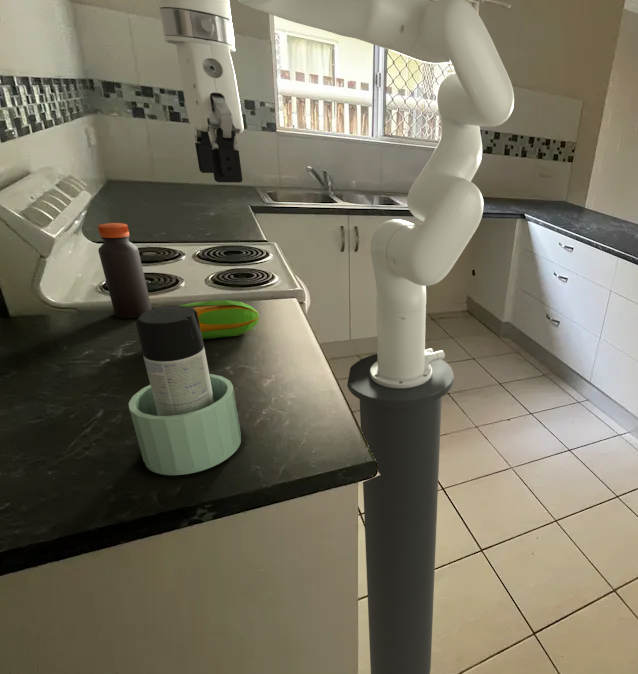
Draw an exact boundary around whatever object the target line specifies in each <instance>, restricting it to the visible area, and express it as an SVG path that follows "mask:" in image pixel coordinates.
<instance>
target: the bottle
mask: <svg viewBox="0 0 638 674" xmlns="http://www.w3.org/2000/svg"><path fill="white" fill-rule="evenodd" d="M97 229H98V232H99V235H100V238H101V240H103V243H102V244H101V245H100V247H98V250H97V251H98V255H99V258H100V263H101V267H102V271H103V274H104V277H105V282H106V286H107V289H108V293H109V298H110V300H111V305H112V308H113V312H114V316H115V317H117V318H120V319H138V318H139V317H140V315H141V314H142V313H145V312H147V311H148V310H150V309H153V308H152V304H151V300H150V295H149V291H148V286H147V282H146V277H145V272H144V267H143V264H142V259H141V255H140V251H139V247H138V246H137V245H135V244H134V243H133V242H131V241H130V240H129V238H131V237H130V231H129V226H128V224H127V223H123V222H107V223H101V224H97Z"/></svg>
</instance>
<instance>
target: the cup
mask: <svg viewBox="0 0 638 674" xmlns="http://www.w3.org/2000/svg"><path fill="white" fill-rule="evenodd" d="M209 376H210V381H211V387H212V392H213V398H214V403H213V404H212V405H210V406H208V407H205V408H203V409H200V410H198V411H194V412H190V413H186V414H181V415H172V416H158V414H157V410H156V405H155V402H154V397H153V393H152V389H151V385H150V384H149V385H147V386H144V387H142V388H141V389H140V390H138V391H136V393H134V394H133V395H132V396H131V398H130V400H129V402H128V404H127V405H128V409H129V413H130V418H131V420H132V424H133V427H134V432H135V435H136V439H137V442H138V443H137V444H138V447H139V451H140V453H141V457H142V462H143V463H144V466H145V467H146V468H147V469H148V470H149V471H150V472H152V473H154V474H155V473H156V474H158V475H162V476H183V475H185V476H186V475H190V474H195V473H200V472H203V471H206V470H208V469H211V468H214V467H215V466H217V465H220V464H221V463H223V462H224V461H226V460H228V459H229V458H231V457H232V456H233V455H234V454H235V453H236V452H237V451H238V449H239V448H240V446H241V442H242V432H241V426H240V425H241V424H240V419H239V414H238V407H237V402H236V395H235V389H234V385H233V384H232V382H231V380H229V379H228V378H226V377H224V376H222V375H218V374H214V373H209Z"/></svg>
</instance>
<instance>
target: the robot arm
mask: <svg viewBox="0 0 638 674" xmlns="http://www.w3.org/2000/svg"><path fill="white" fill-rule="evenodd" d="M236 1H237V2H239V4H242V5H244V6H246V7H249V8H251V9H254V10H257V11H260V12H263V13H265V14H268V15H271V16H274V17H277V18H279V19H282V20H286V21H288V22H292V23H296V24H299V25H303V26H306V27H310V28H313V29H318V30H322V31H325V32H328V33H332V34H334V35H338V36H342V37H347V38H352V39H356V40H359V41H363V42H365V43H368V44H370V45H371V44H372V45H374V46H377V47H380V48H382V49H386V50H388V51H391V52H394V53H397V54H399V55H402V56H404V57H408V58H411V59H413V60H417V61H419V62H423V63H427V64H431V65H436V64H437V65H439V64H440V65H441V64H451V66H452V69H453V70H454V72H452V73H450V74H447V75H446V76H445V77H443V79H442V80H441V81H440V82H439V85H437V89H436V96H435V97H436V98H435V99H436V107H437V111H438V115H439V116H438V117H439V120H440V137H439V140H438V143H437V145H436V147H435V149H434V150H433V153H432V154H431V156H430V158H429V159H428V160H427V162H426V163H425V165H424V167H423V168H422V170H421V171H420V173H419V174H418V176H417V177H416V179H415V180H414V182H413V183H412V185H411V187H410V188H409V191H408V194H407V196H406V203H407V207H408V211H409V212H410V213H411V215H412V216H414V217H415V218H416V219H418V220H419V221H422V224H421V225H418V224H416V223H412V222H409V221H407V220H404V219H389V220H386V221H384V222H382V223H381V224H379V225H378V226H377V227H376V229H375V230H374V232H373V234H372V237H371V241H370V258H371V263H372V268H373V274H374V281H375V297H376V298H375V299H376V300H375V302H376V304H375V306H376V307H375V309H376V311H375V312H376V354H377V358H378V361H377V362H376V363H374V364H373V365H372V366H371V368H370V377H371V379H372V380H373V381H374V382H376V383H377V384H379V385H382V386H385V387H389V388H411V387H415V386H419V385H421V384H423V383H425V382H427V381H428V380H429V379H430V378H431V375H432V368H431V366H430V364H431V363H432V362H433V361H435V360H436V361H437V360H440V359H442V360H444V359H445V358H446V354H445V351H444V350H443V349H441V350H437V351H434V349H433V348H426V326H427V325H426V324H427V323H426V321H427V320H426V318H427V317H426V316H427V287H429V286H434V285H436V284H438V283H439V282H441V281H442V280H443V279H445V277H446V276H447V275H448V274H449V273H450V272H451V270H452V269H453V268H454V266H455V264H456V262H457V261H458V259H459V258H460V257H461V255H462V253H463V251H464V250H465V248H466V247H467V246H468V244H469V242H470V240H471V239H472V237H473V236H474V235H475V233H476V232H477V229H478V227H479V226H480V223H481V221H482V218H483V213H484V198H483V195H482V192H481V190H480V189H479V187H478V186H477V185H476V184H475V183H474V182H472V181H473V179H474V177H475V175H476V173H477V171H478V169H479V167H480V165H481V163H482V157H483V141H482V134H481V128H480V127H485V128H493V127H498V126H501V125H503V124H504V123H505V122H507V120H508V119H509V118H510V117H511V114H512V113H513V110H514V105H515V93H514V88H513V84H512V81H511V79H510V76H509V74H508V72H507V69H506V67H505V65H504V63H503V61H502V59H501V57H500V54H499V52H498V50H497V47H496V45H495V43H494V41H493V39H492V37H491V35H490V33H489V31H488V29H487V26H486V25H485V23H484V22H483V20H482V17H480V15H479V13H478V12H477V10H476V9H475V8H474V7H473V5H472V4H470V2H468V1H467V0H236ZM230 3H231V2H230V0H158V8H159V14H160V20H161V26H162V32H163V38H164V42H166V43H168V44H172V45H175V46H176V52H177V61H178V67H179V74H180V80H181V86H182V92H183V98H184V99H183V100H184V103H185V110H186V113H187V119H188V122H189V125H190V126H191V127H193V128H194V140H195V142H194V145H195V152H196V157H197V162H198V163H197V165H198V170H199V172H200V173H202V174H213V179H214V181H215V182H216V183H242V182H243V173H242V165H241V157H240V150H239V145H238V140H237V138H236V136H237V135H241V134H242V133H243V132H244V130H245V127H244V120H243V113H242V107H241V102H240V95H239V90H238V84H237V78H236V73H235V68H234V64H233V59H232V55H231V53H235V52H236V47H235V46H236V44H235V36H234V27H233V22H232V13H231V4H230Z"/></svg>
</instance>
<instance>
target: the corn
mask: <svg viewBox="0 0 638 674" xmlns="http://www.w3.org/2000/svg"><path fill="white" fill-rule="evenodd" d="M178 306H185V307H192V308H193V309H195V310H196V311H197V315H198V319H199V325H200V330H201V334H202V339H203V340H210V339H217V338H218V339H220V338H230V337H236V336H237V337H238V336H241V335H243V334H245V333H247V332H249V331H251V330H252V329H253V328H254V327H255V326H257V324H258V322H259V320H260V319H259V318H260V316H259V312H258V311H257V310H256V309H255V308H254V307H253V306H251V305H249V304H247V303H245V302H242V301H240V300H239V301H237V300H227V299H222V300H221V299H219V300H211V301H198V302H197V301H196V302H191V303H184V304H180V305H178Z"/></svg>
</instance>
